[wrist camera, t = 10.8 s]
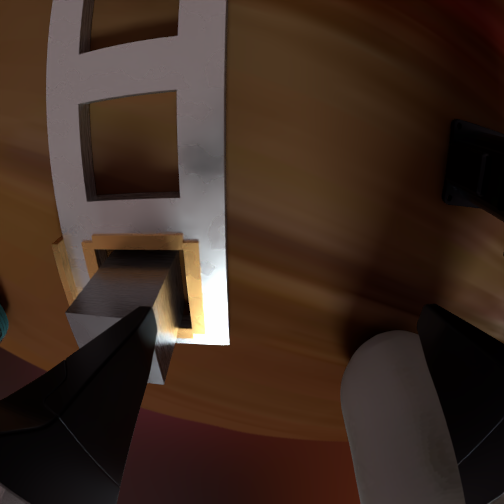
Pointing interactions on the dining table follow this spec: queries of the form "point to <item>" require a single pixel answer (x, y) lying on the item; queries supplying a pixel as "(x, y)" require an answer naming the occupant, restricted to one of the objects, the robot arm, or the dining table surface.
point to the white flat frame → (189, 154)
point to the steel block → (133, 300)
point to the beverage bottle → (3, 323)
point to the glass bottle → (398, 425)
